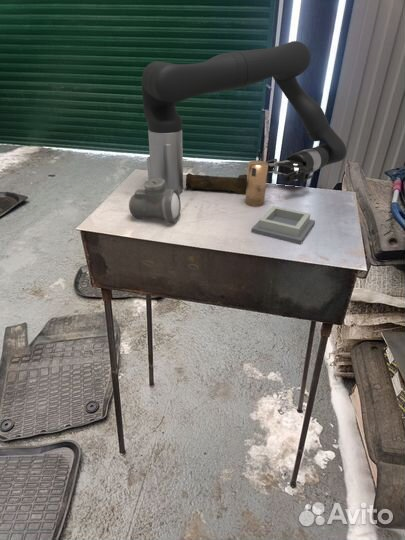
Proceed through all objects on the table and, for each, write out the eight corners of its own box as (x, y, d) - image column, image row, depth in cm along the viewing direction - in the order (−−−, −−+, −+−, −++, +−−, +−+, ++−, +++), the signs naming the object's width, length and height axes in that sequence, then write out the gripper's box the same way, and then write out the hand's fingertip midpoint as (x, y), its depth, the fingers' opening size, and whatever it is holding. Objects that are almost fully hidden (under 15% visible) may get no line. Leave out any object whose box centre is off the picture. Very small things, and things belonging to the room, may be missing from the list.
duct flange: (251, 232, 90) (252, 220, 89) (268, 214, 99) (270, 203, 98) (300, 244, 85) (302, 232, 84) (314, 224, 94) (316, 213, 93)
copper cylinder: (241, 204, 104) (244, 164, 98) (249, 197, 108) (252, 159, 102) (259, 208, 102) (263, 168, 96) (266, 201, 106) (271, 162, 100)
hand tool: (184, 191, 112) (184, 173, 109) (188, 186, 116) (188, 168, 113) (261, 199, 108) (263, 180, 105) (263, 193, 112) (265, 175, 109)
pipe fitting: (184, 212, 98) (178, 174, 92) (175, 228, 92) (168, 189, 86) (141, 212, 101) (133, 175, 95) (130, 227, 95) (120, 189, 89)
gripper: (285, 146, 119) (254, 156, 109) (327, 156, 111) (297, 168, 101) (282, 170, 123) (251, 182, 113) (322, 181, 115) (293, 194, 105)
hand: (273, 175), depth 107 cm, fingers open, 8 cm apart
